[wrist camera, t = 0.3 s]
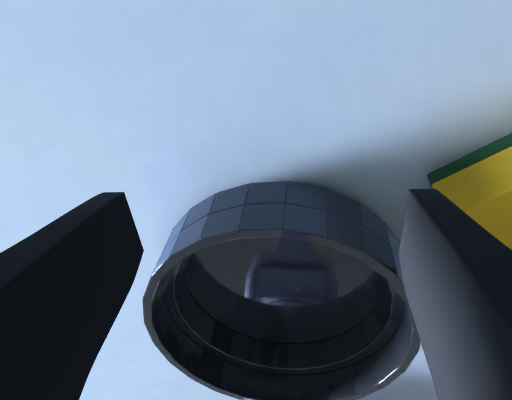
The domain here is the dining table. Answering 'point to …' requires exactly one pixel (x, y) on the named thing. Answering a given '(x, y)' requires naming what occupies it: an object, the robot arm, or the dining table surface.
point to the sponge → (482, 187)
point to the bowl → (282, 296)
